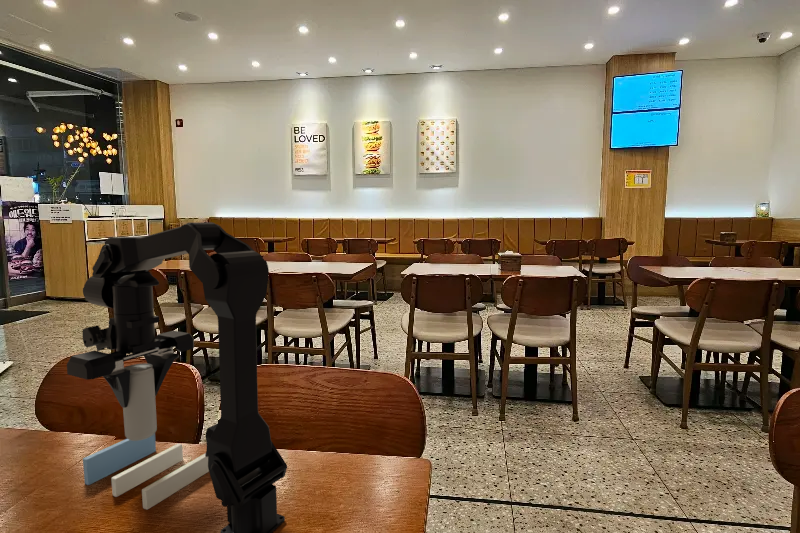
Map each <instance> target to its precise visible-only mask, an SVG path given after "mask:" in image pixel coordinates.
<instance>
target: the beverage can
mask: <svg viewBox="0 0 800 533" xmlns="http://www.w3.org/2000/svg"><path fill="white" fill-rule="evenodd" d="M152 367H153V365H151V364H147V362H145V363H134V364H131V365H126V366H124V369H127V370H130V385H129V401H128V406H127V407H125V408H124V407H122V410H123V411H122V412H123V413H122V414H123V426H124V437H125V439H127V438H128V439H129V440H132V441H139V440H143V439H147V438H149V437H151V436H152V435H153V434H154V433H155V434H156V432H157V430H158V427H157V426H158V424H157V422H158V421H157V409H156V408H157V407H156V406H157V403H156V396H155V383H154V369H153V368H152Z"/></svg>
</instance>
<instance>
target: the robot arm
mask: <svg viewBox="0 0 800 533" xmlns="http://www.w3.org/2000/svg"><path fill="white" fill-rule="evenodd" d="M209 250H210V251H211V250H212V251H214V252H215V253H212V254H211V255H210V254H208V252H206V251H209ZM182 255H188V262H189V263H188V266H189V267H188V268H189V270H190V271H191V272H192V273H193V275H195V277H196V278H197V279H198V280H199V281H200V282H201V283H202V286H203V288H202V290H203V296H204V299H205V301H206V302H207V304H208V305H209V306H210V308H211V309H212V311H213V312H214V313H215V315H216V317H217V332H218V357H219V358H218V363H219V364H218V366H219V386H220V387H219V391H220V392H219V396H220V398H219V399H220V419H219V420H218V422H217V423H215V424H213V425H211V426H210V427H207V428H206V432H205V435H204V436H205V442H206V443H205V444H206V452H205V453H206V454H205V453H204V454H205V456H206V457H208V469H209V472H208V473H209V476H210V479H211V483H212V487H213V490H214V494H215V497H216V499H217V500H220V502H221V506H222V507H225V508H226V514H227V523H228V524H227V525H225V526H224V527H223V528H222V529H220V533H273V532H274V531H276V529H277V528H278V527H279V526H281V525H282V524H283V523H284V522H285V519H286V518H285V517H286V516H284V515H282V514H279V513H278V505H277V504H278V503H277V502H278V501H277V500H278V499H277V497H278V496H277V486H276V485H274V484H275V483H276V482H278V481H279V480H281V479H283V478H285V476H286V472H287V469H288V464H287V462H285V460H284V458H283V457H282V455H281V453H280V452H279V450H278V449H277V447H276V446H275V444H274V443H273V441H272V438H271V431H270V426H269V425H268V423H267V422H266V421H265V419H264V418H263V416H262V415H261V414H260V413H259V397H258V357H257V356H258V352H257V351H258V350H257V347H258V346H257V345H258V344H257V313H258V311H259V310H260V307H261V306H262V304H263V302H264V300H265V298H266V297H267V293H268V292H267V291H268V283H269V275H270V274H269V272H270V271H269V265H268V262H267V260H265V259H264V258H263V256H262V255H261V254H260V253H259V252H257V251H255V250H254V249H253V248H252V246H251V245H249V244H247V243H246V242H244V241H242V240H241V239H239V238H237V237H235V236H233V235H231V234H229V233H228V232H227V231H225V230H224V228H222V226H221V225H219V224H217V223H215V222H211V221H210V222H206V221H205V222H187V223H185V224H183V225H181V226H178V227H175V228H170V229H167V230H163V231H160V232H159V231H158V232H155V233H152V234H149V235H142V236H141V235H140V236H137V235H136V236H135V235H134V236H112V237H111V236H110V237H108V238H107V239H106V240H104V244H103V245H102V247H101V248H100V252H99V254H98V256H97V259H96V261H95V263H94V265H93V266H92V268H91V269H92V275H91V276H90V277H89V278H87V280H86V281H85V283H84V285H83V288H82V294H83V295H82V296H83V297H84V299H85V300H86V301H87V302H88V303H90V304H92V305H95V306H99V307H105V308H110V309H113V317H111V318H109V320H108V326H107V327H106V328H100V326H99V325H94V326H88V327H85V328H83V329H82V342H83V345H84V347H86V348H91V347H94V346H95V349H96V350H92V351H88V352H83V353H80V354H79V353H78V354H75V355H71V356H70V358H69V360H68V362H67V363H66V372H67V375H68V376H73V377H75V378H80V379H83V380H87V381H89V380H90V381H91V380H94V379H95V380H96V379H98V378H101V377H103V378H104V379H105V381H106V382H107V383H108V385H109V387H110V388H111V390H112V391H113V392H112V393H114V396H115V398H116V399H117V401H118V403H119V405H120V406H121V408H123V407H124V408H125V407H127V406H128V401H129V385H130V370H127V369H124V368H125V365H124V364H125V363H124V362H126V361H127V362H128V361H131V360H134V359H138V358H140V357H143V358H144V360H145V361H146V364H151V365H153V367H152V368H153V369H154V383H155V397H156V396H157V395H158V392H159V391H160V389H161V386H162V385H163V382H164V380H165V378H166V375H167V374H168V372H169V370H170V368H171V366H173V364H174V361H175V360H176V359H178V358H179V357H180V355H179V354H178V353H175V352H174V348H175V350H177V351H178V352H179V353H183V352H186V351H190V350H193V349H194V348H195V339H194V337H193V335H192V334H191V333H190V332H186V331H185V332H183V331H179V330H178V331H177V330H170V331H167V332H166V331H165V332H161V333H158V334H156V329H155V324H157V323H160V316H159V315H155V312H154V307H155V306H154V292H153V290H154V289H153V288H154V287H155V286H159V285H160V282H159V280H158V278H156V277H155V276H154V275H153V274H152V273H151V270H153V269H155V268H156V267H158V266H160V265H162V264H163V261H164V260H165V259H170V258H173V257H178V256H182ZM105 349H106V350H110V351H111V350H112V351H113V350H116V351H113V352H109V353H106V352H102V351H104V350H105Z"/></svg>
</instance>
